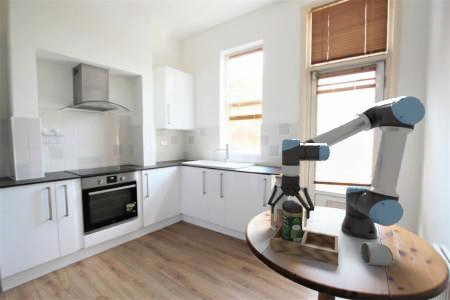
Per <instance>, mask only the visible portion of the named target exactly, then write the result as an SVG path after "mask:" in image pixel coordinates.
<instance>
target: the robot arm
mask: <svg viewBox="0 0 450 300" xmlns="http://www.w3.org/2000/svg"><path fill="white" fill-rule="evenodd" d="M425 114H426V109H425V105H424V103H423V102H421V100H420V99H419V98H417V97H415V96H412V95H405V96H397V97H396V98H391V99H387V100H382V101H379V102H376V103H375V104H373V105H371V106H369V107H367V108H366V109H363V110H361V111H360V112H358V113H356V114H355V117H352V118H350V119H348V120H346V121H344V122H342V123H340V124H338V125H336V126H334V127H332V128H329V129H328V130H326V131H323V132H320V134H318V135H316V136H313V137H311V138H310V139H309V138H308V139H306V140H305V141H303V142H301V140H300V139H299V138H291V139H289V138H285V139H283V140H282V142H281V175H282V184H281V185H278V184H276V185H273V187H274V191H273V193H272V195H271V194H270V197H269V199H268V201H267V205H269V206H270V207H271V206H272V213H273V214H274V222H276V220H277V206H275V205H276V204H277V202H278V201H279V200H280V199H281V198H282V197H283V196H284V195H286V196H289V197H295V198H296V199H297V200H298V202H299V204H300V205H301V206H302V207H303V209H304V211H303V216H304V217H303V220H304V221H303V222H304V223H303V224H304V225H303V227H304V228H307V225H308V220H309V219H310V217H311V215H310V214H311V213H310V212H314V211H315V206H314V203H313V201H312V199H311V196H310V194H309V192H308V191H309V190H308V187H307V186H303V187H301V185H300V180H301V179H300V173H301V172H300V171H301V167H300V166H301V162H325V161H328V160H329V158H330V156H331V154H330V153H331V149H330V147H332V146H335V145H336V144H338V143H340V142H343V141H344V140H347V139H349V138H351V137H353V136H355V135H357V134H359V133H361V132H363V131H365V132H369V131H371V130H373V129H375V128H376V129H377V128H378V129H379V131H381V138H380V142H379V148H378V152H377V156H376V157H377V158H376V161H375V166H374V172H373V176H372V180H371V185H370V186H358V185H357V186H355V185H353V186H348V187H347V188H346V191H345V216H344V218H343V219H342V223H341V226H340V227H341V228H340V229H341V231H342V232H343V233H344V234H346V235H348V236H350V237H353V238H358V239H363V240H364V239H365V240H374V239H375V238H377V236H378V231H377V227H376V225H375V224H377V225H379V226H382V227H391V226H394V225H395V224H398V223H399V222H400V221H401V220H402V218H403V216H404V207H403V206H402V204H401V203H400V202H399V199H400V194H398V192H397V187H398V182H399V179H400V178H399V176H400V173H401V168H402V164H403V158H404V153H405V149H406V144H407V139H408V135H409V134H410V133H413V132H414V129H415V125H417V124H419V123H420V122H421V121H423V119H424V118H425ZM279 188H281V190H282V191H283V192H282V193H281V195H280V196H279V197H278V198H277V199H276V200H275V201H274V203H273V202H272V201H273V199H274V197H275V195H276V192H277V190H279ZM300 191H301V192H302V193H303V195H304V197H305V199H306V201H307V203H306V201H305V200H304V199H303V197H302V196H301V194H300Z"/></svg>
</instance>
